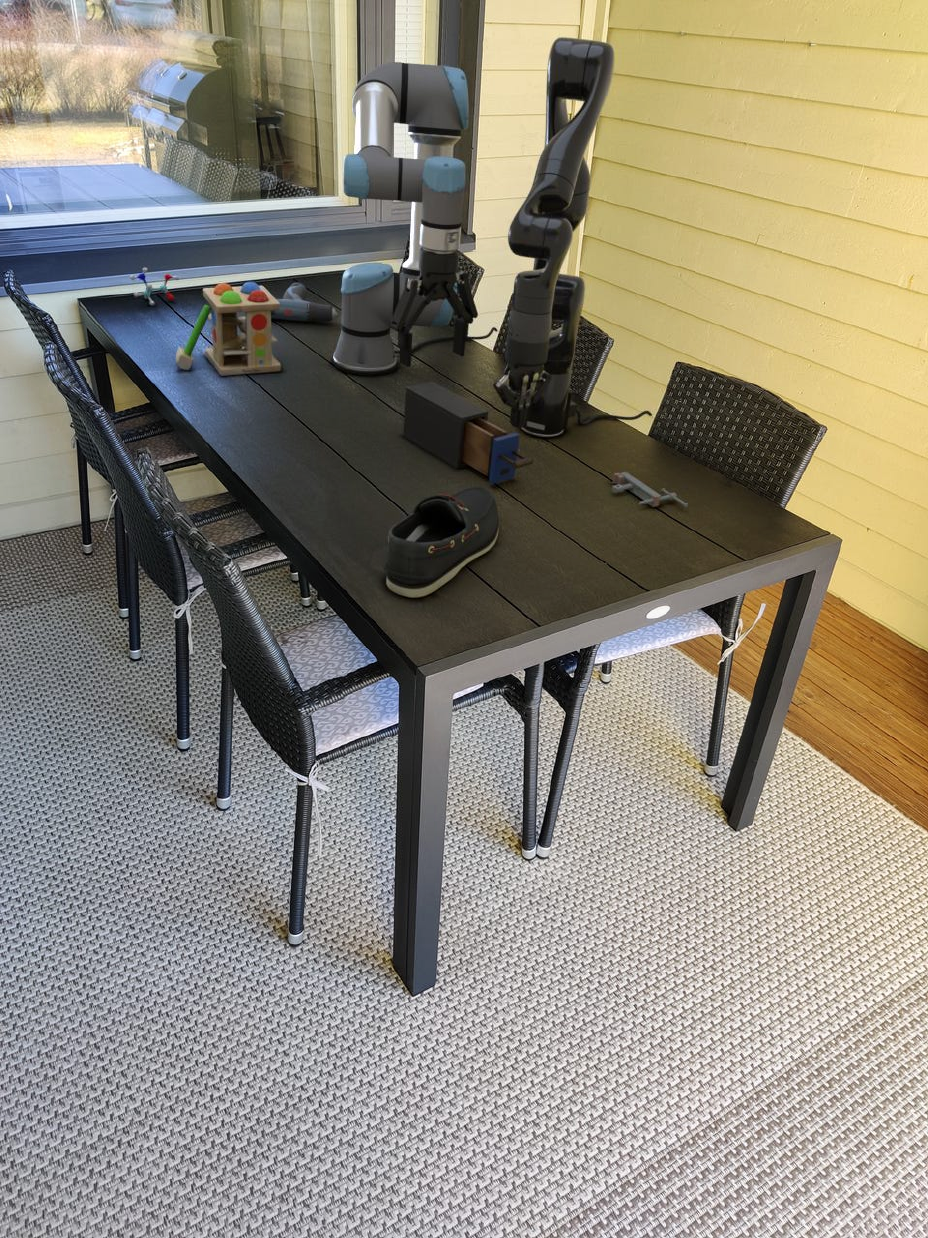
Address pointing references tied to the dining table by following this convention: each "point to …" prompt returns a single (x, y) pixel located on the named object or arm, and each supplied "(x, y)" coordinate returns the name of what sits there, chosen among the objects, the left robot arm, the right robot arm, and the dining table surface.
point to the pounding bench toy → (229, 347)
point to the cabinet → (438, 420)
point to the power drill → (301, 307)
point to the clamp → (623, 484)
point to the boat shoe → (440, 540)
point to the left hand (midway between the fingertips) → (432, 359)
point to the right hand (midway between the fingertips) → (517, 425)
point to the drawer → (491, 450)
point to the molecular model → (150, 289)
